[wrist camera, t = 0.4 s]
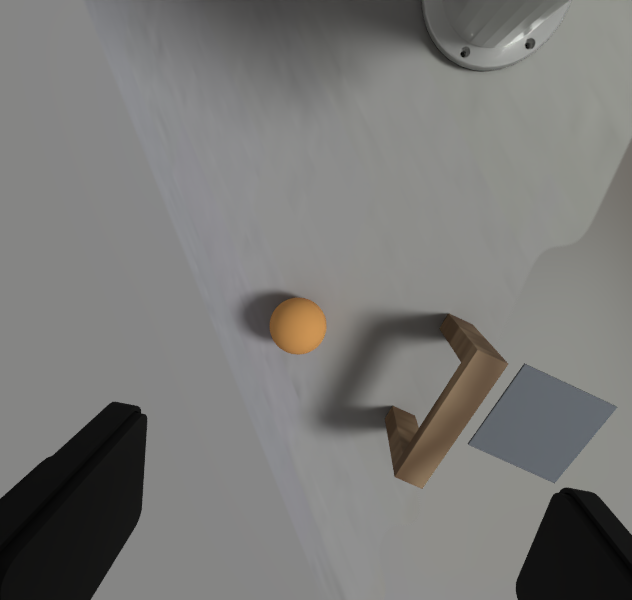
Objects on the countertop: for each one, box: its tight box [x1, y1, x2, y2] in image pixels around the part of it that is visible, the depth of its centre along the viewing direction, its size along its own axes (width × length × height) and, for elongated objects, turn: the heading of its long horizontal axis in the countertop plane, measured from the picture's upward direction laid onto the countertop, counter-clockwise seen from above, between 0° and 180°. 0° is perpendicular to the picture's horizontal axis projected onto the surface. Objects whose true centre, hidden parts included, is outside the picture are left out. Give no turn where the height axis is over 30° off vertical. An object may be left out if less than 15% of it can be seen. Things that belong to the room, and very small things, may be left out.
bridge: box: [385, 314, 508, 489], centre depth 40 cm, size 3×15×10 cm, turn 155°
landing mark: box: [468, 364, 617, 483], centre depth 45 cm, size 12×12×1 cm
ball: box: [270, 298, 326, 354], centre depth 41 cm, size 6×6×6 cm
